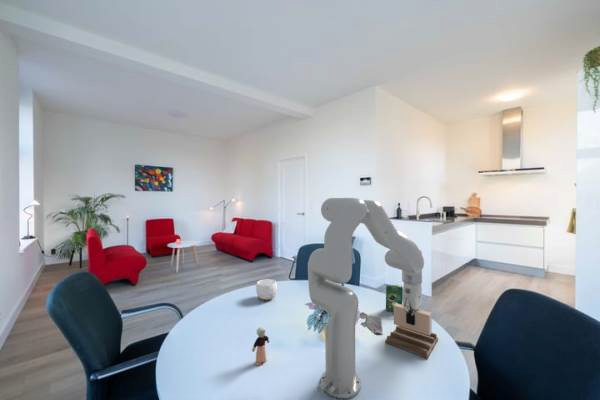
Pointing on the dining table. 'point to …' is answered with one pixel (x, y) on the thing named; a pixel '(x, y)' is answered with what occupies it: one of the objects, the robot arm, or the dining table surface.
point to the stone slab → (372, 323)
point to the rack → (412, 341)
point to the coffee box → (393, 296)
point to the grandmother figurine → (260, 346)
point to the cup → (266, 289)
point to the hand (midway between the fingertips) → (411, 321)
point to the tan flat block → (421, 320)
